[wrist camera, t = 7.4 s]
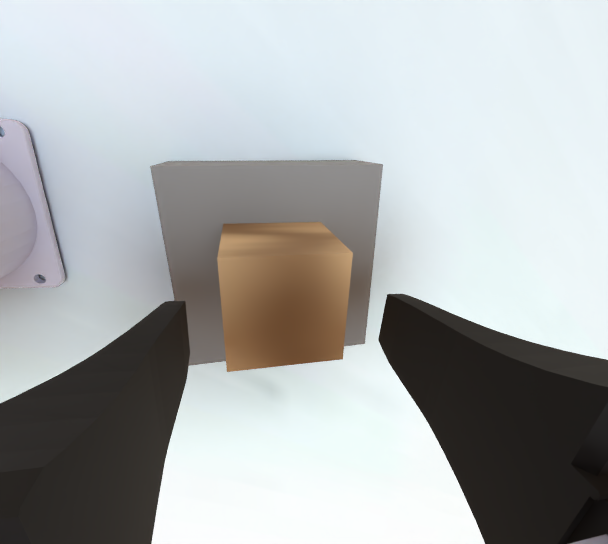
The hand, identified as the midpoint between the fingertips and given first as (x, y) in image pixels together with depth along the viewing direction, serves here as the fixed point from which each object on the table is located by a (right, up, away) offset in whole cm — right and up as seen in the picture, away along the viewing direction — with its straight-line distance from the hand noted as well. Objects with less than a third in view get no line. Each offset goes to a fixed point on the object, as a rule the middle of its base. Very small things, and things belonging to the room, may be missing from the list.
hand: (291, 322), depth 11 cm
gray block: (-2, +3, +8) cm, 9 cm away
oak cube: (-1, +2, +4) cm, 5 cm away
